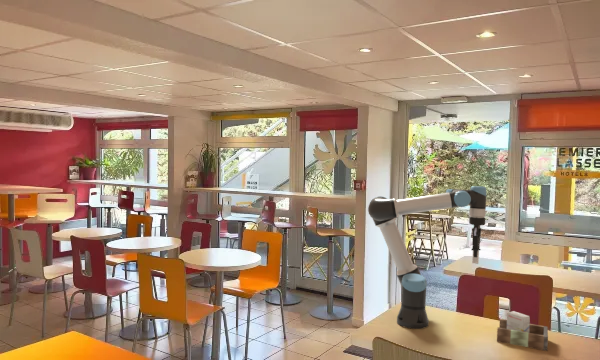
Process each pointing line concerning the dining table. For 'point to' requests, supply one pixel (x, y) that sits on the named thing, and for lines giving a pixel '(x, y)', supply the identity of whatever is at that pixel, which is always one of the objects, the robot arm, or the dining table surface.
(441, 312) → the dining table surface
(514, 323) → the ink box
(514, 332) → the open-top container
